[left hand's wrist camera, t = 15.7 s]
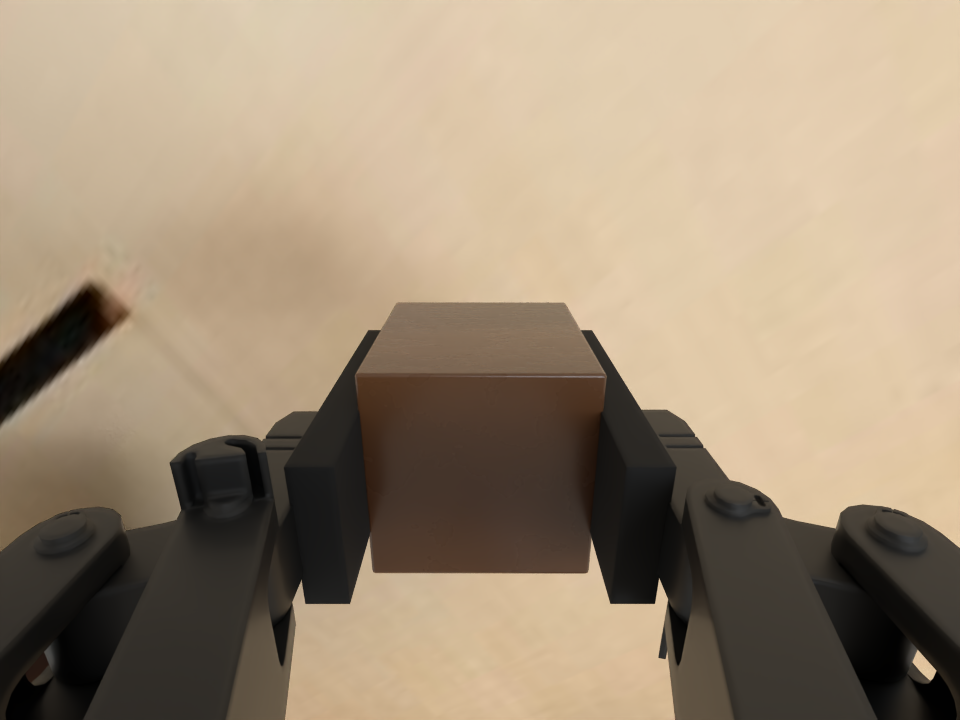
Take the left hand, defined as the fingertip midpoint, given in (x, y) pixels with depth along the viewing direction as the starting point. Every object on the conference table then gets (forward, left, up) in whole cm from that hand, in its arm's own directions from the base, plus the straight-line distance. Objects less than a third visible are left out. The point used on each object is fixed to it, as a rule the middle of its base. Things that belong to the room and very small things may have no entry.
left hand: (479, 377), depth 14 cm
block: (0, 0, 0) cm, 0 cm away
